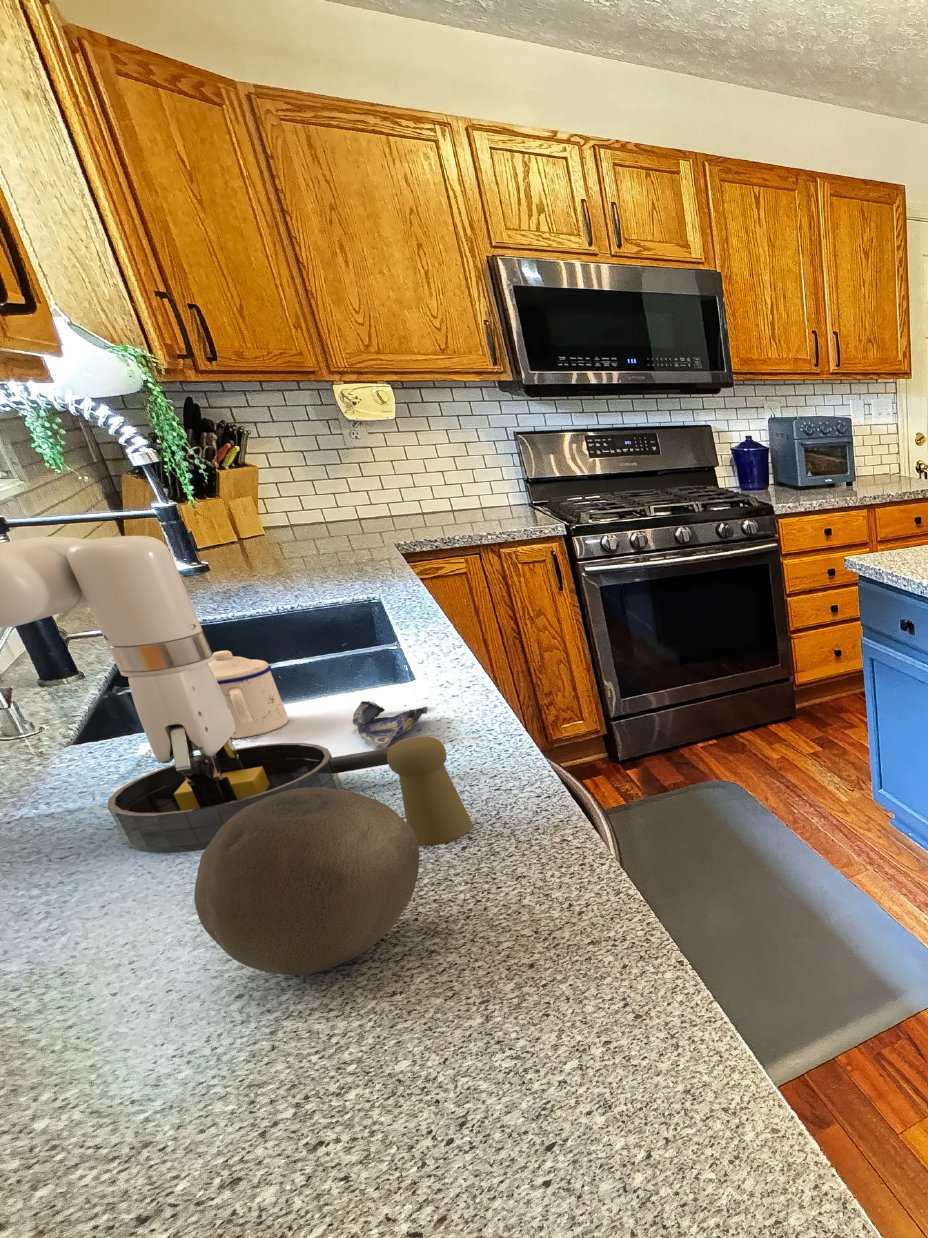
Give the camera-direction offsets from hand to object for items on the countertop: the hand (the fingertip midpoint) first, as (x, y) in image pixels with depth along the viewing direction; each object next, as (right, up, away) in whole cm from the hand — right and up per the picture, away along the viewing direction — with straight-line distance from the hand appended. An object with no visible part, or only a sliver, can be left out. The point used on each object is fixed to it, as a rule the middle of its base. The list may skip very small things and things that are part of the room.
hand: (228, 800), depth 95 cm
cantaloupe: (+34, -12, -25) cm, 44 cm away
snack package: (+4, +8, +21) cm, 23 cm away
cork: (+29, -3, -5) cm, 30 cm away
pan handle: (+15, +4, +5) cm, 16 cm away
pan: (+2, -1, 0) cm, 2 cm away
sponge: (0, 0, 0) cm, 0 cm away
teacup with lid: (-18, +8, +22) cm, 30 cm away
